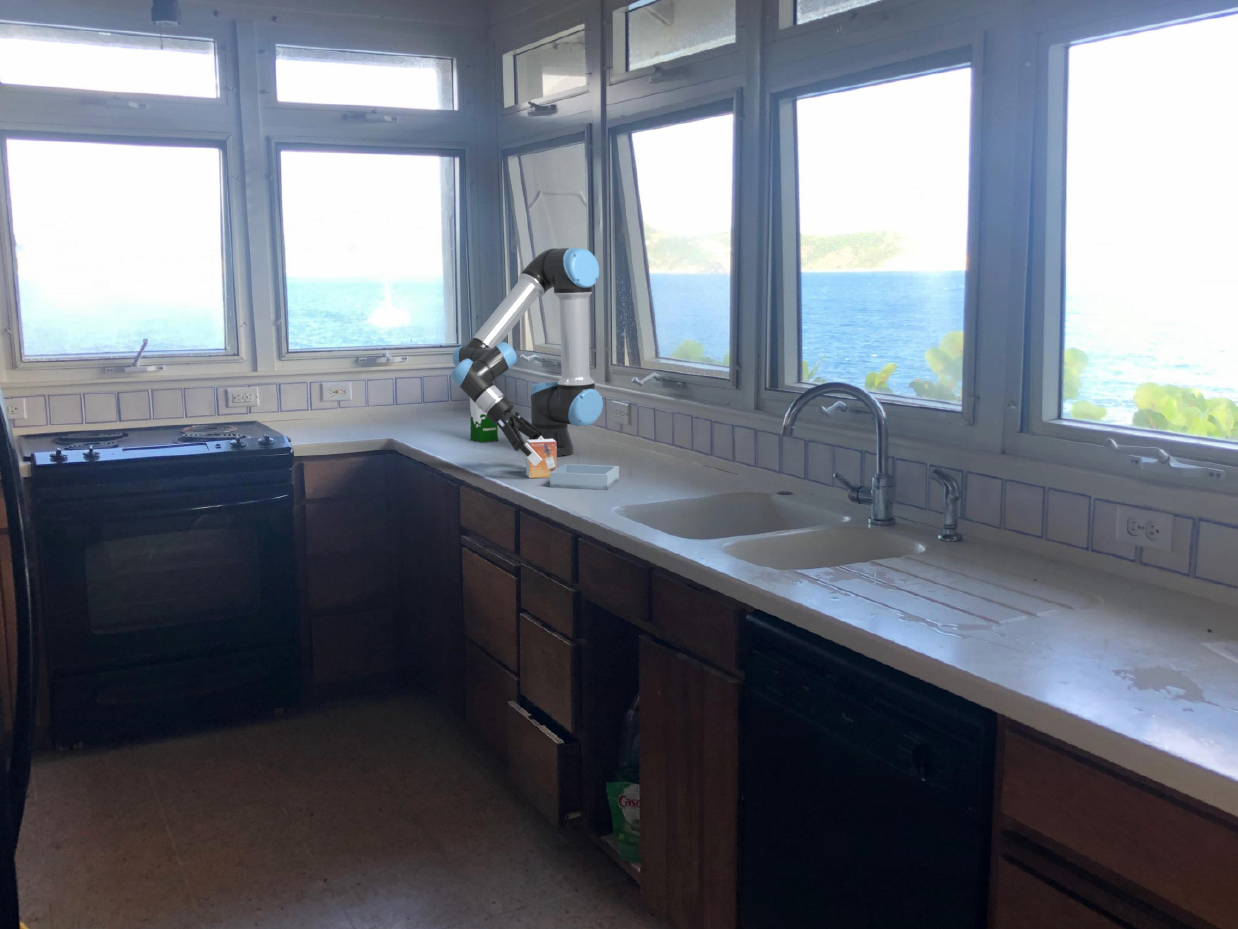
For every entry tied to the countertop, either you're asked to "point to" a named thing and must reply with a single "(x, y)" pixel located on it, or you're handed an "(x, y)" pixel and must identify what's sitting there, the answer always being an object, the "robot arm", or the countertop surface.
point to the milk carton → (481, 425)
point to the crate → (584, 476)
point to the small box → (548, 456)
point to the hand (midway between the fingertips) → (546, 459)
